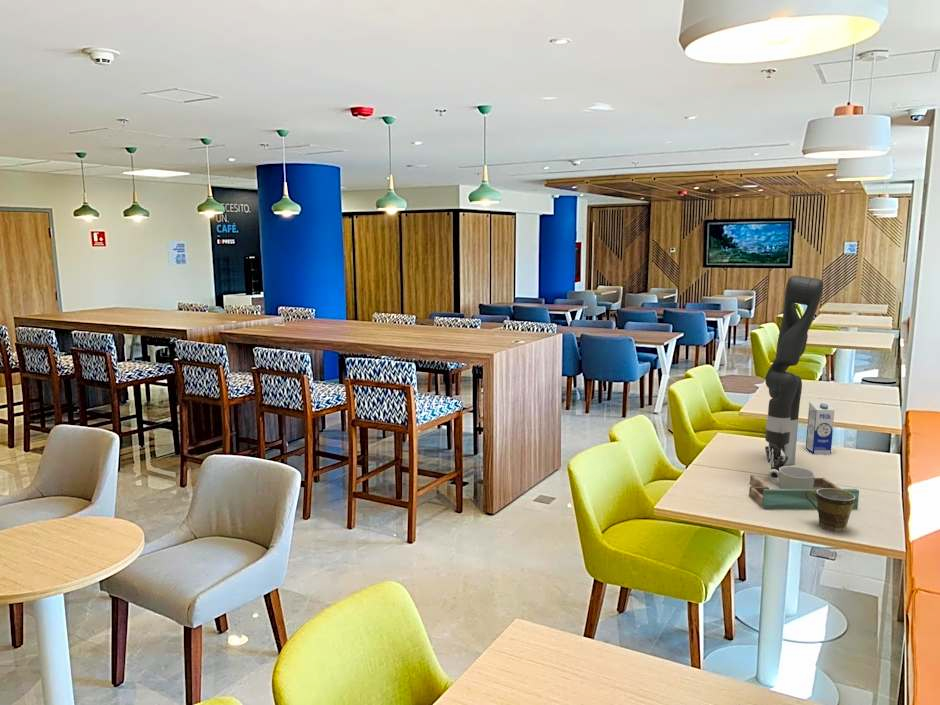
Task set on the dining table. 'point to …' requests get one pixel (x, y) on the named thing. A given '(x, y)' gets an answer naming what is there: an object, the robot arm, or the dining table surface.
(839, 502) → the ceramic cup
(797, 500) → the teal wooden tray
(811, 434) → the milk carton
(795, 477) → the teacup
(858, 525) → the dining table surface
